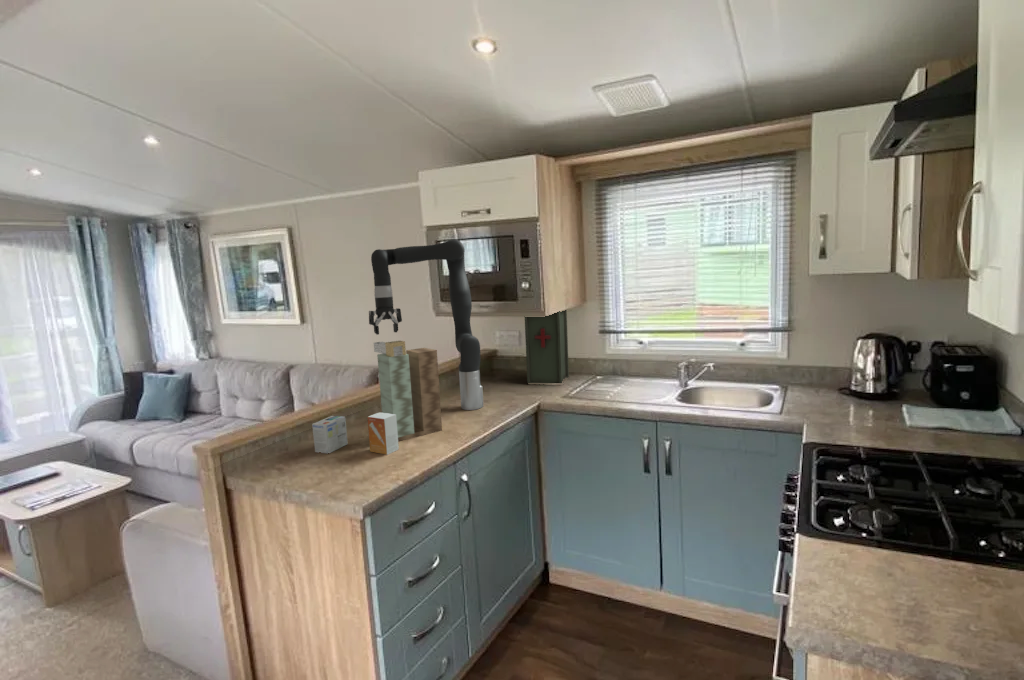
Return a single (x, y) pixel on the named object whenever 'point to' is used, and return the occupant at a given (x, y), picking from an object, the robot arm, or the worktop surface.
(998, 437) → the worktop surface
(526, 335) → the first aid box
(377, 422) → the small box
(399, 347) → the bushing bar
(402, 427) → the green brown tall block
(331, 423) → the light bulb box
